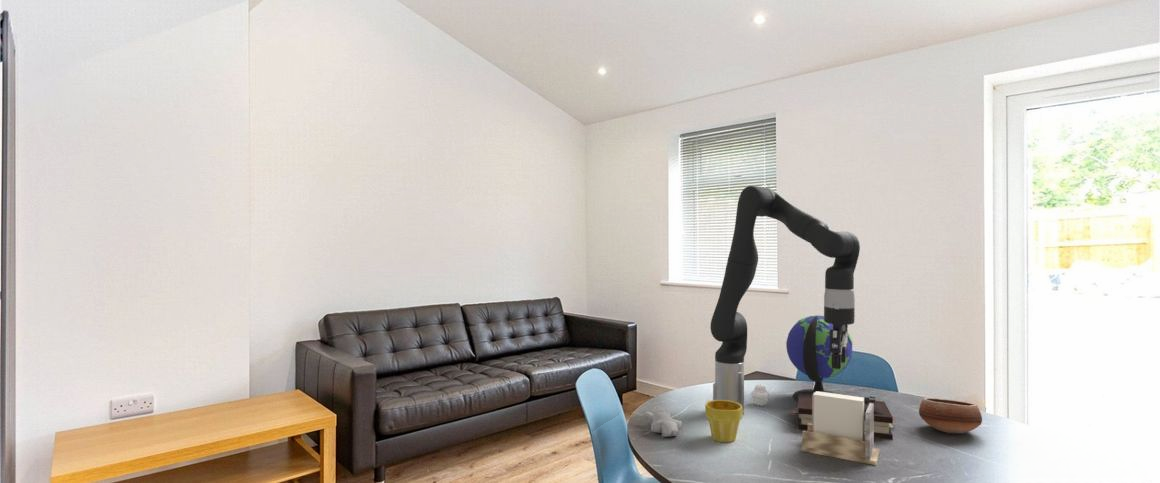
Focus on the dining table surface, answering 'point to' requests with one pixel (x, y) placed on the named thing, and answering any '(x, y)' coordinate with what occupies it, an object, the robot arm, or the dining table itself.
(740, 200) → the robot arm
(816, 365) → the globe
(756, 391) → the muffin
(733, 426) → the plant pot
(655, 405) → the dining table surface
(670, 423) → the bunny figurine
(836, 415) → the slim book
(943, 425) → the bowl
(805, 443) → the book rack
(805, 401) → the decorative book
